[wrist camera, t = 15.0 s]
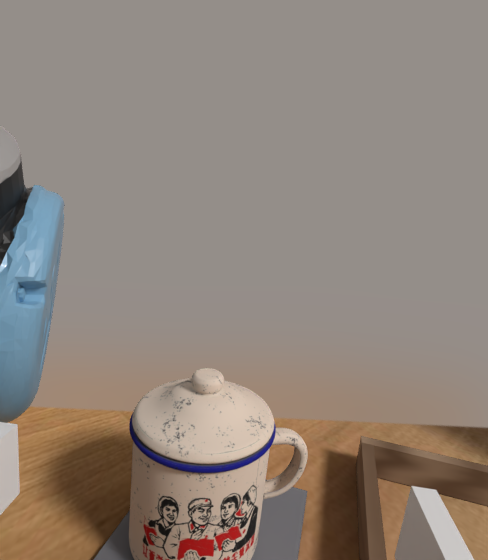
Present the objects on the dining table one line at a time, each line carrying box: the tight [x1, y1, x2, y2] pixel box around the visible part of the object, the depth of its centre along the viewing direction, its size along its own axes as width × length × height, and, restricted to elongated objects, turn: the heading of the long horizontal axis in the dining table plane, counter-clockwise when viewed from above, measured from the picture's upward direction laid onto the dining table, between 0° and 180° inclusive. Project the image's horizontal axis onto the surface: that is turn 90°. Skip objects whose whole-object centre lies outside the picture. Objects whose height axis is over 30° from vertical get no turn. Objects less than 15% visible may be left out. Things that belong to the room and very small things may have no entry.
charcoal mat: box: [94, 480, 307, 560], centre depth 26 cm, size 12×12×1 cm
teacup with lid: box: [129, 368, 308, 560], centre depth 25 cm, size 12×9×12 cm
